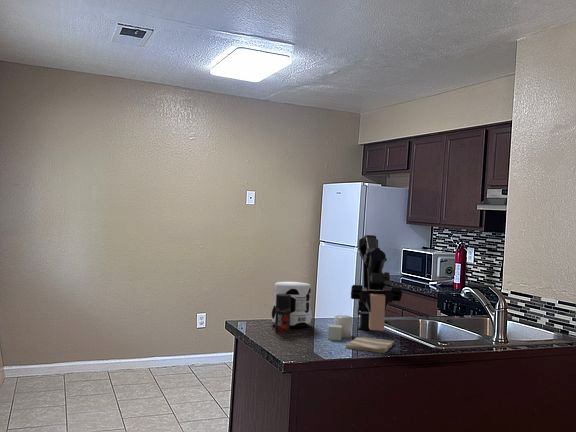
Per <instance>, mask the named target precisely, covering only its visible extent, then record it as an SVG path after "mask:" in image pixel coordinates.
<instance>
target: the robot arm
mask: <svg viewBox="0 0 576 432" xmlns="http://www.w3.org/2000/svg"><path fill="white" fill-rule="evenodd" d="M357 250H358V251H359V257H360V258H361V259H362V284H353V285H352V286H351V290H350V299H352V300H358V301H357V306H356V314H357V316H360V317H359V318H360V319H359V320H360V321H359V326H358V327H357V330H362V331H371V332H373V331H374V330H370V329H369V312H370V311H371V306H370V294H384V295H385V312H386V311H387V308H388V306H389V304H390V303H392V302H400V301H401V300H402V296H403V288H402V287H401V286H391V287H390V290H389V289H388V290H387V289H385V287H386V285H385V284H386V283H389V282H390V279H391V276H390V272H388V271H387V272H386V271H385V272H383V269H384V267H385V263H386V262H387V256H386V255H387V254H386V253H385V252H384V251H383V250H381V248H380V247H379V239H378V238H377V236H376V235H375V234H373V235H372V234H365V235H364V236H363V237H362V238H360V239H358V243H357Z"/></svg>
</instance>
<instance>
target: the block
mask: <svg viewBox="0 0 576 432" xmlns="http://www.w3.org/2000/svg"><path fill="white" fill-rule="evenodd" d="M327 332H328V334H327V340H332V341H342V339H343V337H342V325H334V324H328V329H327Z"/></svg>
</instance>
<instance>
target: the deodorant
mask: <svg viewBox="0 0 576 432" xmlns="http://www.w3.org/2000/svg"><path fill="white" fill-rule="evenodd" d="M290 308H291V295H289V294H277V295H276V318H275V324H274V333H276V334H284V335H285V334H290V332H291V331H290V328H291V327H290Z"/></svg>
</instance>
